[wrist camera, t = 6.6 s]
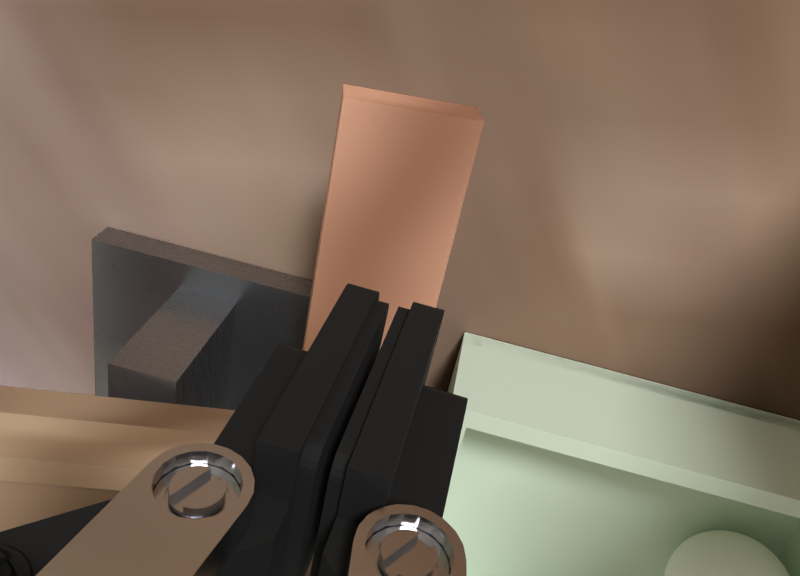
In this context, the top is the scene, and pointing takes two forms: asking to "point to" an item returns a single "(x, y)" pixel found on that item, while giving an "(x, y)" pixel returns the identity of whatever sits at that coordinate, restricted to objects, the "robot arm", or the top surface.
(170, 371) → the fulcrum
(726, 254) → the top surface
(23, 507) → the chute
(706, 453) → the tray
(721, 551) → the ball
